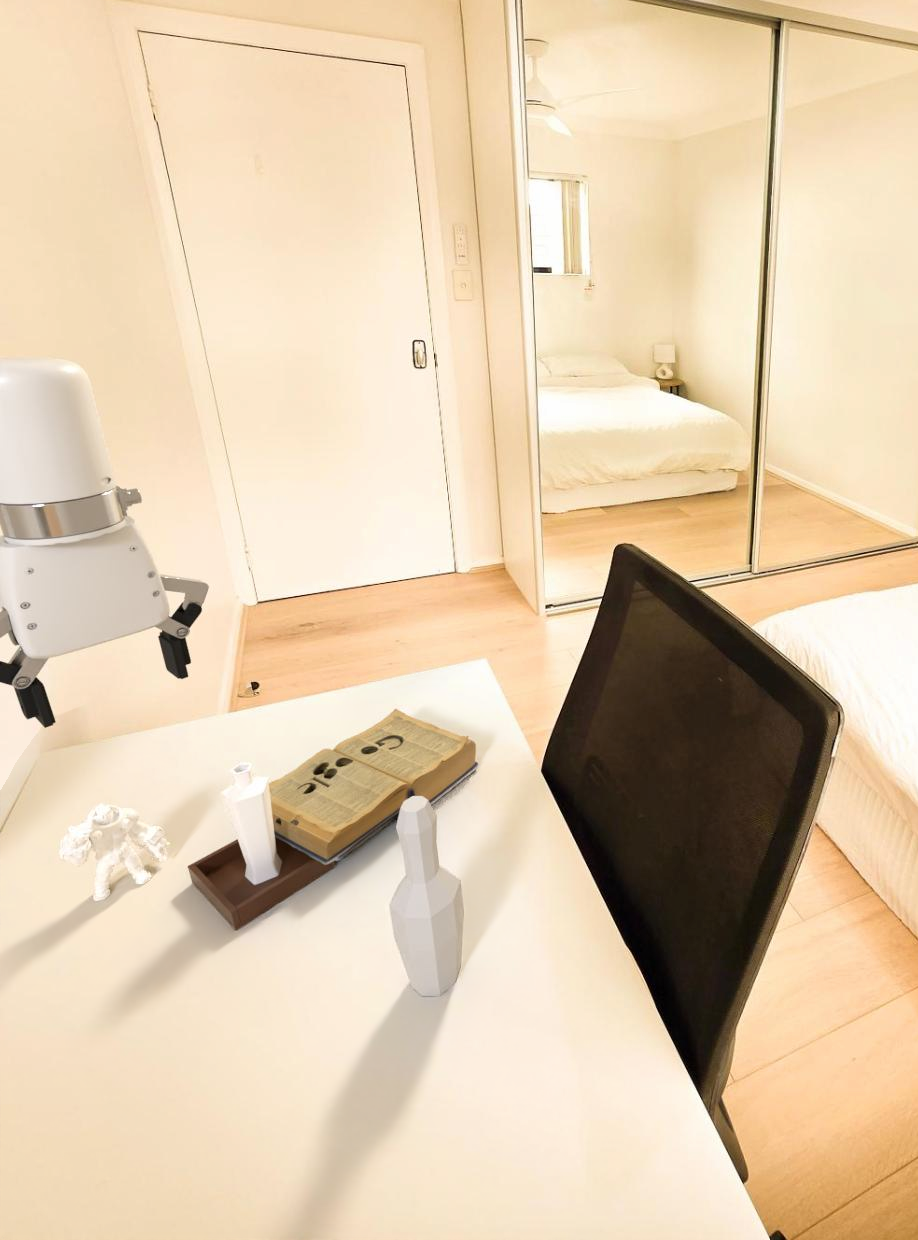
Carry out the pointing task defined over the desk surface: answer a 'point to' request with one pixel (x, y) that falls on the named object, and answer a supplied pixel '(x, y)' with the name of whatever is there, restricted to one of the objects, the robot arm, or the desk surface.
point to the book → (366, 784)
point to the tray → (240, 897)
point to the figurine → (113, 844)
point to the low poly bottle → (426, 904)
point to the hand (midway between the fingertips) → (115, 696)
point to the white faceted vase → (253, 823)
